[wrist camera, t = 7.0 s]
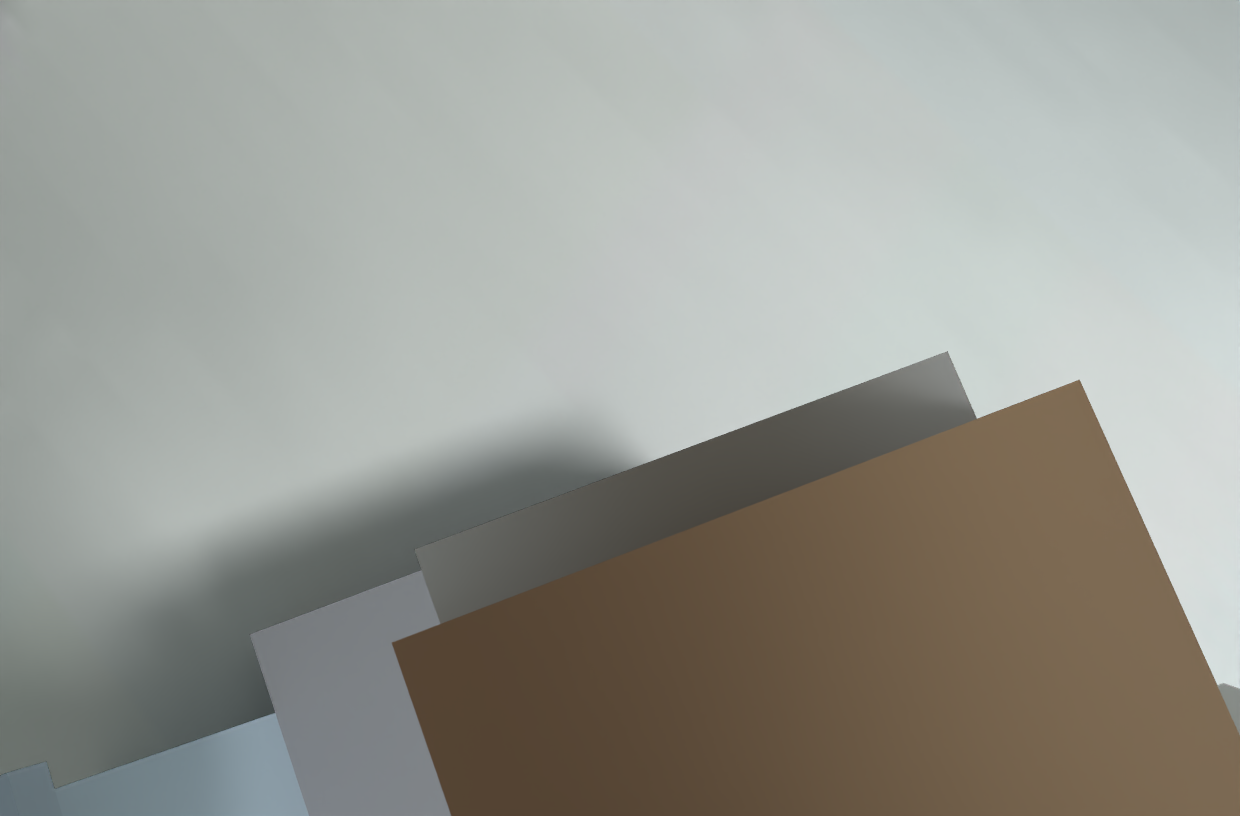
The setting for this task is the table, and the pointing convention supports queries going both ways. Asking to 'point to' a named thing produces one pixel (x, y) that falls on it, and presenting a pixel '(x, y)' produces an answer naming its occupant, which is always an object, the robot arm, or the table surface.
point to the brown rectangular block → (828, 628)
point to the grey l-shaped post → (287, 732)
